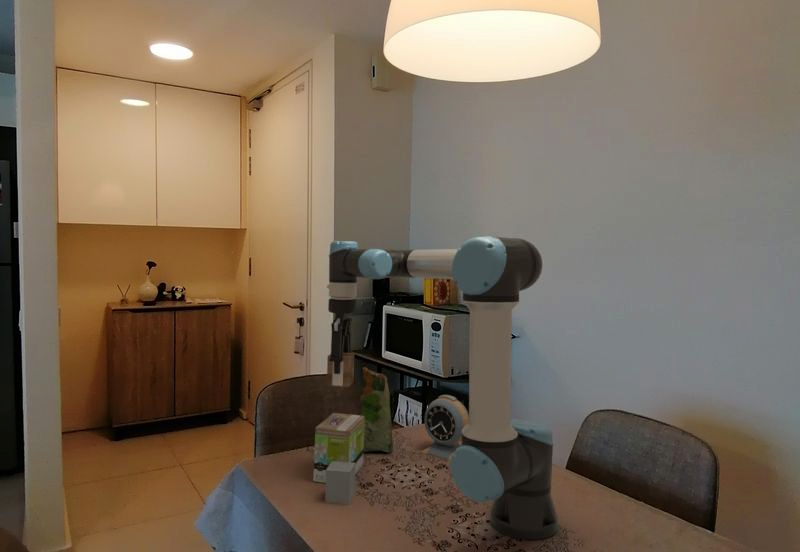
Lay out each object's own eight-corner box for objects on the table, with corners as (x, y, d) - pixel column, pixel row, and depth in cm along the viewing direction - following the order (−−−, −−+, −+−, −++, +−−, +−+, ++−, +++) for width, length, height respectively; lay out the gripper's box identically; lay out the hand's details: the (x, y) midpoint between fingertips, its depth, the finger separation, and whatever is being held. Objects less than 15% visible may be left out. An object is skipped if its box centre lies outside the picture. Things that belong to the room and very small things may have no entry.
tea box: (349, 486, 147) (350, 430, 146) (312, 482, 149) (313, 427, 148) (364, 465, 161) (365, 414, 161) (330, 461, 163) (331, 411, 163)
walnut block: (348, 387, 151) (349, 357, 150) (326, 385, 152) (327, 356, 151) (353, 381, 157) (354, 353, 156) (332, 380, 157) (333, 352, 157)
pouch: (387, 458, 167) (389, 374, 166) (349, 453, 170) (351, 371, 169) (397, 446, 178) (399, 367, 177) (361, 441, 181) (363, 364, 180)
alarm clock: (417, 451, 173) (419, 394, 173) (435, 443, 181) (436, 388, 180) (457, 463, 165) (459, 403, 164) (474, 453, 173) (476, 396, 172)
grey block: (349, 504, 136) (350, 472, 136) (325, 502, 137) (325, 470, 137) (354, 494, 142) (355, 462, 142) (331, 492, 143) (332, 461, 143)
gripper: (337, 294, 163) (335, 374, 164) (319, 300, 144) (317, 390, 145) (363, 295, 162) (361, 375, 163) (348, 301, 143) (345, 391, 144)
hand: (340, 382), depth 154 cm, fingers closed on walnut block, 6 cm apart
